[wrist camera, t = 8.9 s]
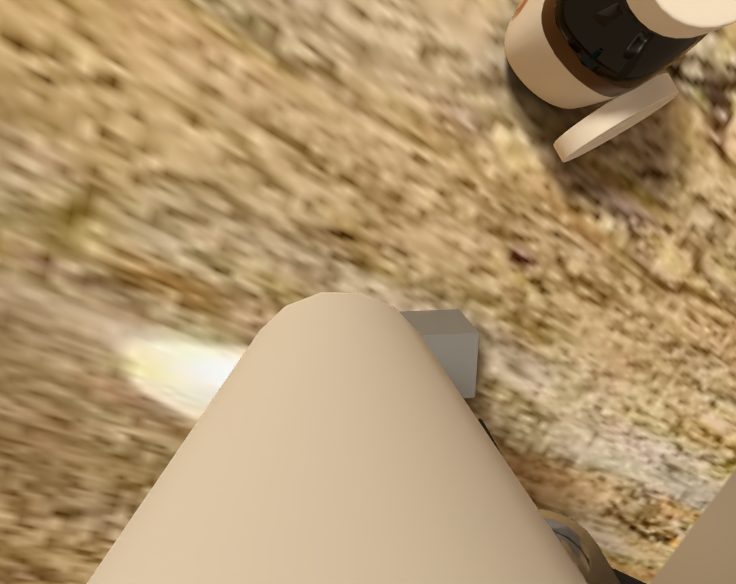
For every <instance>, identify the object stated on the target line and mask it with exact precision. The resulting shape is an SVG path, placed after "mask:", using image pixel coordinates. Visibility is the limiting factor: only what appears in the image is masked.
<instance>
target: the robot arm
mask: <svg viewBox="0 0 736 584" xmlns="http://www.w3.org/2000/svg"><path fill="white" fill-rule="evenodd" d="M478 421H479V422H480V424H481V425H482V427H483V428H484V430H485V431H486V433H487V434H488V436H489V437H490V439H491V440H492V442H493V443H494V445H495V446H496V448H497V449H498V447H497V445H496V443H495V442H494V440H493V438H492V436H491V435H490V433H489V431H488V429H487V428H486V426H485V424H484V423H483V421H482V420H481V419H478ZM498 450H499V449H498ZM499 452H500V451H499ZM500 453H501V452H500ZM501 455H502V454H501ZM537 510H538V512H539V513H540V515H541V516H542V518H543V519H544V520H545V521H546V522H547V523H548V525H549V526H550V527H551V529H552V530H553V532H554V533H555V535H556V536H557V538H558V539H559V541H560V542H561V544H562V546H563V547H564V549H565V550H566V551H567V553H568V554H569V556H570V557H571V559H572V560H573V562H574V563H575V564H576V566H577V567H578V569H579V570H580V572H581V573H582V575H583V576H584V578H585V581H586V582H587V584H646V583H643V582H641V581H639V580H637V579H635V578H633V577H630V576H628V575H626V574H624V573H622V572H619V571H617V570H615V569H613V568H611V566H610V565H609V563H608V561H607V560H606V558H605V556H604V555H603V553H602V551H601V550H600V548H599V546H598V544H597V543H596V542H595V541H594V539H593V538H592V537H591V535H590V534H589V533H588V532H587V530H585V529H584V528H583V527H581V526H580V525H579V524H578V523H576V522H575V521H574V520H572V519H570V518H568V517H566V516H564V515H561V514H559V513H556V512H552V511H548V510H543V509H537Z"/></svg>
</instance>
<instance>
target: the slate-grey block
mask: <svg viewBox="0 0 736 584" xmlns="http://www.w3.org/2000/svg"><path fill="white" fill-rule="evenodd" d="M400 313H401V314H402V315H403V316H404V317H405V318H406V320H407V321H408V322H409V323H410V324H411V325H412V326H413V327H414V328H415V329H416V330H417V331H418V332H419V333H420V335H421V336H422V338H423V339H424V341H425V342H426V344H427V345H428V347H429V348H430V350H431V351H432V353H433V354H434V356H435V357H436V359H437V360H438V362H439V363H440V365H441V366H442V368H443V369H444V371H445V372H446V373H447V375H448V376H449V378H450V379H451V381H452V382H453V384H454V385H455V387H456V388H457V390H458V391H459V393H460V394H461V396H462V397H463V398H475V390H476V374H477V358H478V342H479V332H478V331H477V330H476V329H475V327H474V326H473V325H472V324H471V323H470V322H469V321H468V319H467V318H466V317H465V316H464V315H463V314H462V313H461V311H460V310H459V309H455V310H430V311H406V312H400Z"/></svg>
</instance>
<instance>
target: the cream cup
mask: <svg viewBox="0 0 736 584" xmlns="http://www.w3.org/2000/svg"><path fill="white" fill-rule="evenodd" d="M537 509H538V508H537V507H536V505H535V504H534V502H533V501H532V499H531V498H530V496H529V495H528V493H527V492H526V490H525V489H524V487H523V486H522V485H521V483H520V482H519V480H518V479H517V477H516V476H515V474H514V473H513V471H512V470H511V468H510V467H509V465H508V464H507V462H506V461H505V459H504V458H503V456H502V455H501V453H500V452H499V450H498V449H497V448H496V446H495V445H494V443H493V442H492V440H491V439H490V437H489V436H488V434H487V433H486V431H485V430H484V428H483V427H482V425H481V424H480V422H479V421H478V419H477V418H476V416H475V415H474V413H473V412H472V410H471V409H470V408H469V406H468V405H467V403H466V402H465V400H464V399H463V397H462V396H461V394H460V393H459V391H458V390H457V388H456V387H455V385H454V384H453V382H452V381H451V379H450V378H449V376H448V375H447V373H446V372H445V371H444V369H443V368H442V366H441V365H440V363H439V362H438V360H437V359H436V357H435V356H434V354H433V353H432V351H431V350H430V348H429V347H428V345H427V344H426V342H425V341H424V339H423V338H422V336H421V335H420V333H419V332H418V331H417V330H416V329H415V328H414V327H413V326H412V325H411V324H410V323H409V322H408V321H407V320H406V318H405V317H404V316H403V315H402V314H401V313H400V312H399V311H398V310H397V309H396V308H395V307H393V306H390V305H388V304H386V303H383V302H381V301H378V300H376V299H374V298H371V297H369V296H366V295H364V294H362V293H337V292H321V293H318V294H316V295H313V296H310V297H308V298H305V299H303V300H300V301H297V302H295V303H292V304H290V305H287V306H285V307H284V308H283V309H282V310H281V311H280V312H279V313H278V314H277V315H276V316H275V317H273V318H272V319H271V320H270V321H269V322H268V323H267V324H266V325H265V326H264V327H263V328H262V329H261V330H260V331H259V332H258V334H257V335H256V337H255V338H254V340H253V341H252V343H251V344H250V346H249V347H248V348H247V350H246V351H245V353H244V354H243V356H242V357H241V359H240V360H239V362H238V363H237V365H236V366H235V368H234V369H233V370H232V372H231V373H230V375H229V376H228V378H227V379H226V381H225V382H224V384H223V385H222V387H221V388H220V389H219V391H218V392H217V394H216V395H215V397H214V398H213V400H212V401H211V403H210V404H209V406H208V407H207V408H206V410H205V411H204V413H203V414H202V416H201V417H200V419H199V420H198V422H197V423H196V425H195V426H194V427H193V429H192V430H191V432H190V433H189V435H188V436H187V438H186V439H185V441H184V442H183V444H182V445H181V447H180V448H179V449H178V451H177V452H176V454H175V455H174V457H173V458H172V460H171V461H170V463H169V464H168V466H167V467H166V468H165V470H164V471H163V473H162V474H161V476H160V477H159V479H158V480H157V482H156V483H155V485H154V486H153V487H152V489H151V490H150V492H149V493H148V495H147V496H146V498H145V499H144V501H143V502H142V504H141V505H140V506H139V508H138V509H137V511H136V512H135V514H134V515H133V517H132V518H131V520H130V521H129V523H128V524H127V525H126V527H125V528H124V530H123V531H122V533H121V534H120V536H119V537H118V539H117V540H116V542H115V543H114V545H113V546H112V547H111V549H110V550H109V552H108V553H107V555H106V556H105V558H104V559H103V561H102V562H101V564H100V565H99V566H98V568H97V569H96V571H95V572H94V574H93V575H92V577H91V578H90V580H89V581H88V583H87V584H587V582H586V581H585V578H584V576H583V575H582V573H581V572H580V570H579V569H578V567H577V566H576V564H575V563H574V562H573V560H572V559H571V557H570V556H569V554H568V553H567V551H566V550H565V549H564V547H563V546H562V544H561V542H560V541H559V539H558V538H557V536H556V535H555V533H554V532H553V530H552V529H551V527H550V526H549V525H548V523H547V522H546V521H545V520H544V519H543V518H542V516H541V515H540V513H539V512H538V510H537Z"/></svg>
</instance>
